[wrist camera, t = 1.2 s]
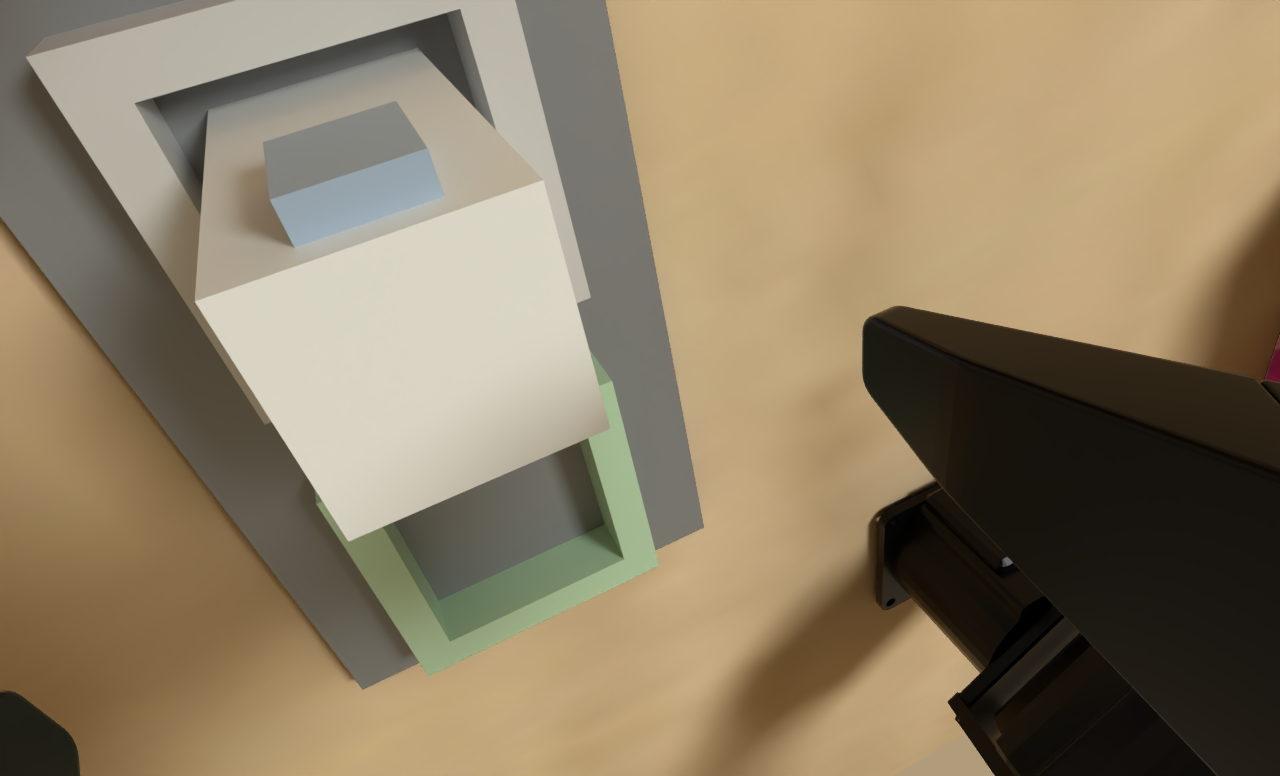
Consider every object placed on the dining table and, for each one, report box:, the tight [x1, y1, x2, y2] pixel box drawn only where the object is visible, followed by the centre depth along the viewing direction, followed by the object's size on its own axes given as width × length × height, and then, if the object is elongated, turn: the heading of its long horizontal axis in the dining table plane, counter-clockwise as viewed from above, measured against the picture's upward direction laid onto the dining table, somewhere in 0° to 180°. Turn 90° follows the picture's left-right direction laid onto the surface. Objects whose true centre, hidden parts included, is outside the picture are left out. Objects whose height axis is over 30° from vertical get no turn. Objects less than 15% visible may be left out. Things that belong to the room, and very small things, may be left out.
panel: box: [0, 0, 704, 689], centre depth 19 cm, size 20×12×2 cm, turn 11°
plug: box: [195, 48, 610, 542], centre depth 13 cm, size 5×4×8 cm
